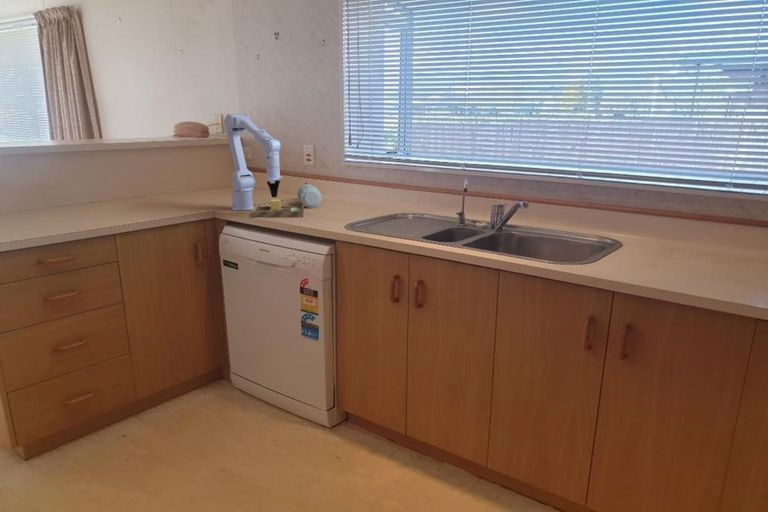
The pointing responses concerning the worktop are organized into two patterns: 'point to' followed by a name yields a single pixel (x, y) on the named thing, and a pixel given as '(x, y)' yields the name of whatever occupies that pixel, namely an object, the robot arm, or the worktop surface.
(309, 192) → the device
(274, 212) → the tray
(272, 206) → the block
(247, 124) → the robot arm
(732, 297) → the worktop surface
